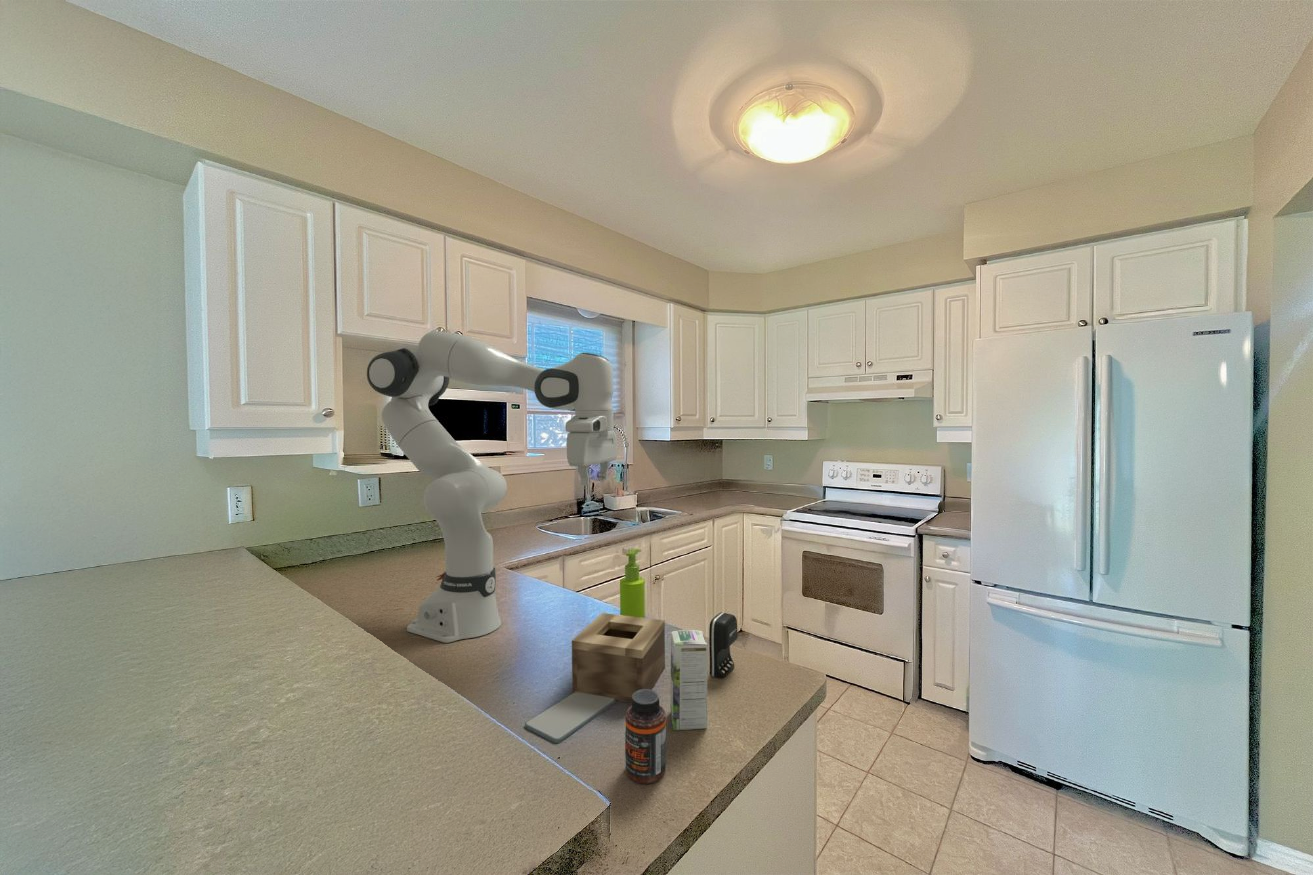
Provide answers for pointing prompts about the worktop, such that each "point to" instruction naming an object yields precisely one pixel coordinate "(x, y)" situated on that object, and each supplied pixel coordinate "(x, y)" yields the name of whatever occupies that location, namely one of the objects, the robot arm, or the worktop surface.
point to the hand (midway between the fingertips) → (594, 482)
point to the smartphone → (568, 715)
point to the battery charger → (721, 644)
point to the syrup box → (688, 679)
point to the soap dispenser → (632, 589)
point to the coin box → (618, 656)
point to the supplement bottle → (645, 738)
